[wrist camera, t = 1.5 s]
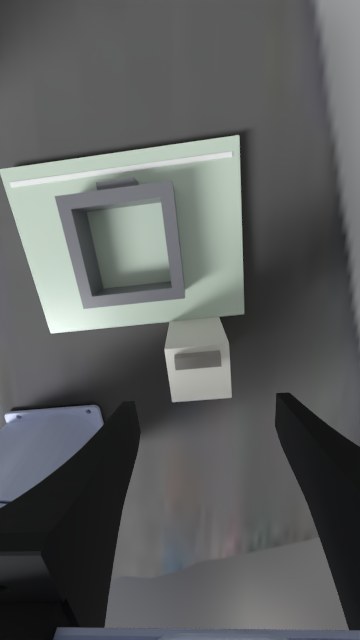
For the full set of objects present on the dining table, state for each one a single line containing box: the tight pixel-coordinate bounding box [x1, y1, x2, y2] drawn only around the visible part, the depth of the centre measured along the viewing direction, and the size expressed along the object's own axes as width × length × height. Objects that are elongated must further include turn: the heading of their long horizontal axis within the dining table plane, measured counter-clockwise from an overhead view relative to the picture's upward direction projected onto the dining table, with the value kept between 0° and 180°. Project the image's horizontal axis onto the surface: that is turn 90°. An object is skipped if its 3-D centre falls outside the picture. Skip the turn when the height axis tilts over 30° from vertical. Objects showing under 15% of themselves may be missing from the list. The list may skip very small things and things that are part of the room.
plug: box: [164, 317, 232, 402], centre depth 18 cm, size 4×4×7 cm
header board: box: [0, 135, 244, 333], centre depth 17 cm, size 16×12×4 cm
